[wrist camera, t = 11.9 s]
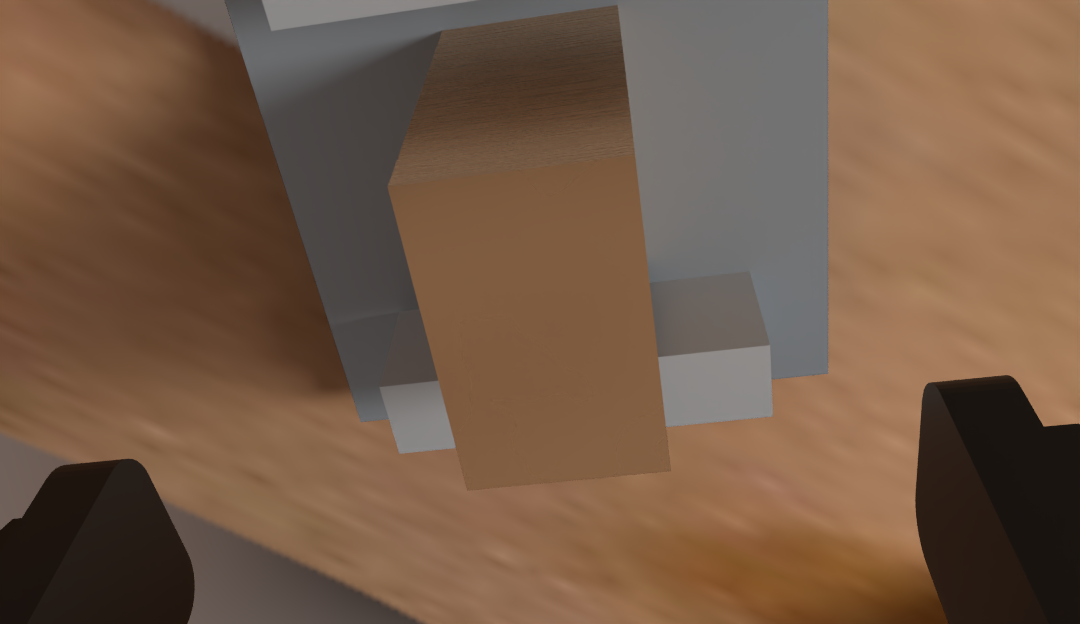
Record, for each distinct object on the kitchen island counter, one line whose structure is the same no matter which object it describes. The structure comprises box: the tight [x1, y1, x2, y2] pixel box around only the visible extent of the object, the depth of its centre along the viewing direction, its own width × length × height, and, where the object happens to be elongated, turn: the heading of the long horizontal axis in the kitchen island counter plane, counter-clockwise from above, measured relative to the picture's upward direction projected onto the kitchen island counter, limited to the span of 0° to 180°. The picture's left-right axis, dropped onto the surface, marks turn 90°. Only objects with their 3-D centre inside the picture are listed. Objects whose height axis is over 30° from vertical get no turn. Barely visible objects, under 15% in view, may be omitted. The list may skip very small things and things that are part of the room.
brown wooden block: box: [388, 5, 671, 491], centre depth 16 cm, size 5×3×6 cm, turn 9°
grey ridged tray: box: [225, 0, 828, 454], centre depth 18 cm, size 12×10×4 cm
